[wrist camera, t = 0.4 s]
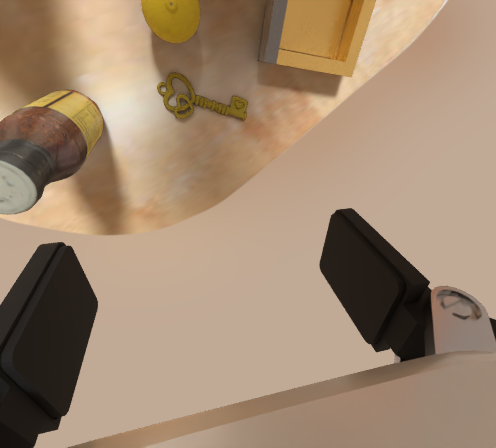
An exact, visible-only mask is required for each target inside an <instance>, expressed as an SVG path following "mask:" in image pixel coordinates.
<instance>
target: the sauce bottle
mask: <svg viewBox="0 0 496 448" xmlns="http://www.w3.org/2000/svg"><path fill="white" fill-rule="evenodd" d="M103 125H104V123H103V117H102V114H101V112H100V110H99V108H98V106H97V104H96V103H95V102H94V101H92V100H91V99H90V98H89V97H87V96H85V95H83V94H82V93H79V92H77V91H74V90H61V91H55V92H52V93H50V94H48V95H46V96H44V97H42V98H40V99H38V100H36V101H34V102H32V103H30V104H28V105H26V106H24V107H22V108H20V109H18V110H16V111H15V112H14V113H12V115H10V116H7V117H6V118H4V119H3V120H2V121H1V122H0V214H18V213H21V212H24V211H28V210H29V209H30V208H32V207H33V206H34V205H35V204H36V203H37V201H38V200H39V199H40V198H41V197H42V194H43V191H44V188H45V186H46V185H48V184H49V183H51V182H55V181H59V180H63V179H65V178H68V177H70V176H72V175H73V174H74V173H76V172H77V171H78V170H79V169H80V167H81V166H82V165H83V163H84V161H85V160H86V158H87V156H88V155H89V153H90V151H91V150H92V148H93V147H94V145H95V144H96V142H97V141H98V139H99V138H100V136H101V134H102V131H103Z"/></svg>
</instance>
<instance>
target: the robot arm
mask: <svg viewBox="0 0 496 448" xmlns="http://www.w3.org/2000/svg"><path fill="white" fill-rule="evenodd" d="M320 270H321V272H322V274H323V275H324V277H325V278H326V280H327V281H328V283H329V285H330V286H331V288H332V289H333V291H334V293H335V294H336V296H337V297H338V299H339V301H340V302H341V303H342V305H343V307H344V308H345V310H346V312H347V313H348V315H349V316H350V318H351V319H352V321H353V323H354V324H355V326H356V327H357V329H358V330H359V332H360V333H361V335H362V337H363V338H364V340H365V341H366V342H367V343H368V344H371V345H372V347H373V348H374V350H375V351H376V352H380V351H384V350H388V349H390V348H391V349H392V351H393V352H394V353H395V361H394V362H395V363H394V364H390V365H386V366H383V367H378V368H374V369H370V370H366V371H362V372H358V373H354V374H350V375H346V376H342V377H338V378H334V379H331V380H326V381H322V382H318V383H314V384H310V385H306V386H303V387H298V388H294V389H291V390H287V391H283V392H278V393H275V394H271V395H267V396H263V397H259V398H255V399H251V400H248V401H243V402H239V403H235V404H232V405H228V406H224V407H220V408H216V409H212V410H208V411H204V412H200V413H197V414H193V415H189V416H185V417H181V418H177V419H173V420H170V421H166V422H162V423H158V424H154V425H150V426H147V427H143V428H139V429H135V430H131V431H127V432H124V433H120V434H116V435H112V436H109V437H104V438H100V439H97V440H93V441H90V442H86V443H83V444H79V445H76V446H72V447H68V448H496V320H495V319H492V318H489V316H488V313H487V311H486V309H485V308H484V306H483V305H482V304H481V303H480V302H479V301H478V300H477V299H475V298H474V297H473V296H471V295H470V294H468V293H466V292H464V291H462V290H460V289H457V288H454V287H449V286H439V287H435V288H434V289H433V290H431V289H430V288H429V287H428V285H429V283H430V282H429V281H428V280H427V279H426V278H425V277H424V276H423V275H422V274H421V273H420V272H419V271H418V270H417V269H416V268H415V267H414V266H413V265H412V264H410V262H408V261H407V260H406V259H405V258H404V257H403V256H402V255H401V254H400V253H399V252H398V251H397V250H396V249H395V248H394V247H393V246H391V245H390V244H389V243H388V242H387V241H386V240H385V239H384V238H383V237H382V236H381V235H380V234H379V233H378V232H377V231H376V230H375V229H374V228H373V227H371V226H370V225H369V224H368V223H367V222H366V221H365V220H364V219H363V218H362V217H361V216H359V214H358V213H357V212H355V210H353V209H352V208H348V209H340V210H336V212H335V213H334V214H332V215H331V218H330V223H329V227H328V231H327V235H326V239H325V243H324V247H323V252H322V256H321V260H320ZM97 308H98V301H97V298H96V296H95V294H94V292H93V290H92V288H91V285H90V284H89V281H88V279H87V278H86V275H85V273H84V271H83V269H82V267H81V265H80V263H79V261H78V259H77V257H76V254H75V253H74V250H73V248H72V247H71V246H66V245H65V244H64V243H63V242H57V243H49V244H42V245H40V246H39V247H38V248H37V250H36V251H35V253H34V254H33V256H32V257H31V259H30V261H29V262H28V264H27V265H26V267H25V268H24V270H23V271H22V273H21V274H20V276H19V277H18V279H17V280H16V282H15V283H14V285H13V287H12V288H11V290H10V292H9V293H8V294H7V296H6V297H5V299H4V300H3V302H2V304H1V305H0V448H33V447H34V446H35V443H36V440H37V437H38V434H41V433H45V432H50V431H54V430H57V429H58V427H59V424H60V420H61V417H62V416H65V415H66V414H67V412H68V411H69V408H70V405H71V401H72V397H73V393H74V390H75V387H76V383H77V380H78V376H79V373H80V369H81V365H82V362H83V358H84V355H85V351H86V348H87V344H88V340H89V337H90V334H91V330H92V327H93V323H94V320H95V316H96V312H97Z"/></svg>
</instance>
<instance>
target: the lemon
mask: <svg viewBox="0 0 496 448" xmlns="http://www.w3.org/2000/svg"><path fill="white" fill-rule="evenodd" d="M141 5H142V11H143V14H144V17H145V20H146V22H147V24H148V25H149V27H150V28H151V30H152V31H153V32H154V33H155V34H156V35H157V36H158V37H160V38H161V39H163V40H164V41H167V42H170V43H182V42H185V41H187V40H188V39H190V38H191V37H192V36H193V35H194V34H195V32H196V30H197V28H198V25H199V21H200V4H199V0H141Z"/></svg>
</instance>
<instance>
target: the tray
mask: <svg viewBox="0 0 496 448" xmlns="http://www.w3.org/2000/svg"><path fill="white" fill-rule="evenodd" d="M375 2H376V0H351V1H350V0H267V2H266V9H265V16H264V23H263V30H262V37H261V44H260V50H259V57H258V61H262V62H267V63H273V64H279V65H284V66H290V67H296V68H301V69H307V70H313V71H318V72H324V73H330V74H335V75H341V76H347V77H352V74H353V71H354V68H355V65H356V62H357V59H358V55H359V52H360V49H361V46H362V43H363V40H364V37H365V34H366V30H367V27H368V24H369V21H370V18H371V15H372V12H373V9H374V5H375ZM349 4H350V5H349ZM348 8H349V9H348ZM347 11H348V12H347ZM346 15H347V16H346ZM345 18H346V19H345ZM344 22H345V23H344ZM342 29H343V30H342ZM341 33H342V34H341ZM340 36H341V37H340ZM339 40H340V41H339ZM338 43H339V44H338ZM337 47H338V48H337ZM279 48H281V49H286V50H291V51H296V52H301V53H296V52H291V51H286V50H281V49H279ZM302 53H306V54H302ZM307 54H312V55H317V56H322V57H327V58H332V59H327V58H322V57H317V56H312V55H307ZM335 54H336V55H335ZM334 58H335V59H334ZM333 59H334V60H333Z"/></svg>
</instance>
